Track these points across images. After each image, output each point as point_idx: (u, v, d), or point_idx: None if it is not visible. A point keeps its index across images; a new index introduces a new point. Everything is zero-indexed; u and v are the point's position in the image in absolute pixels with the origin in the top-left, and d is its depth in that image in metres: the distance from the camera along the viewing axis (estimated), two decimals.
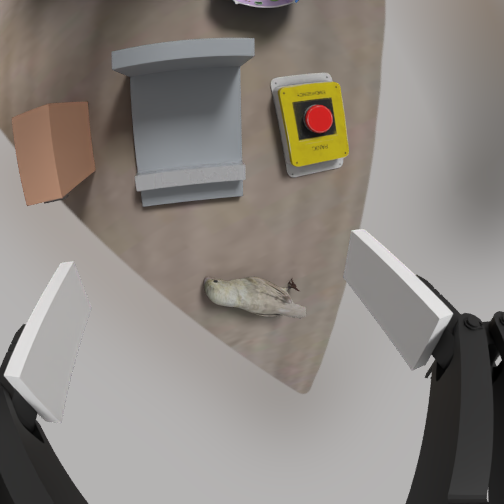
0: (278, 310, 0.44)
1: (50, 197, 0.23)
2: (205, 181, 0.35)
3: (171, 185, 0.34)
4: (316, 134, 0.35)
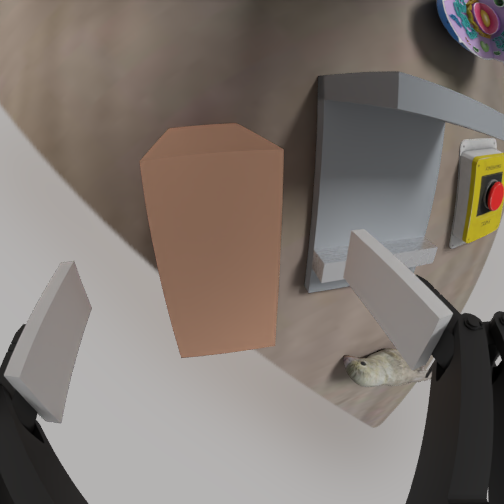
0: (413, 379, 0.35)
1: (247, 346, 0.14)
2: None
3: None
4: (487, 210, 0.26)
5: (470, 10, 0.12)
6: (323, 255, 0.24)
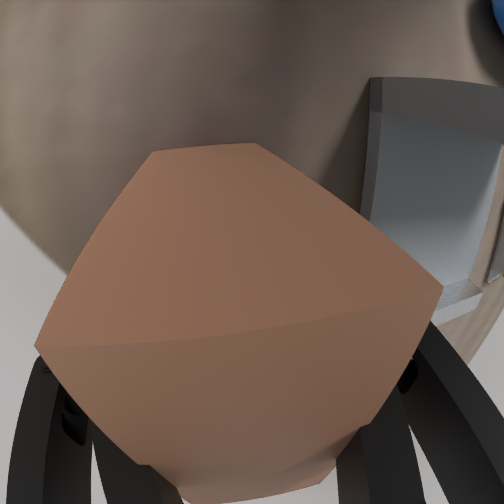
0: None
1: (284, 491, 0.08)
2: (444, 320, 0.19)
3: None
4: None
5: None
6: None
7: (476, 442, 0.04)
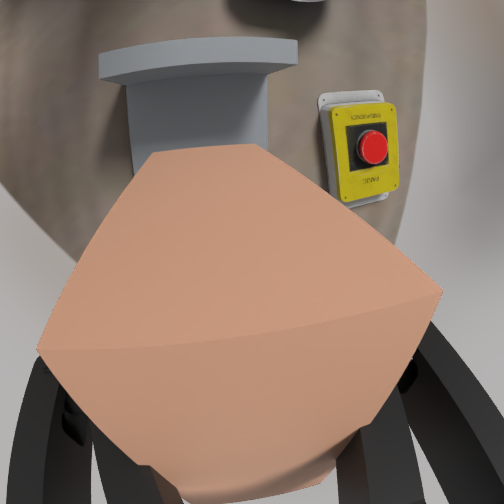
0: None
1: (284, 492, 0.08)
2: None
3: None
4: (368, 164, 0.30)
5: None
6: None
7: (476, 442, 0.04)
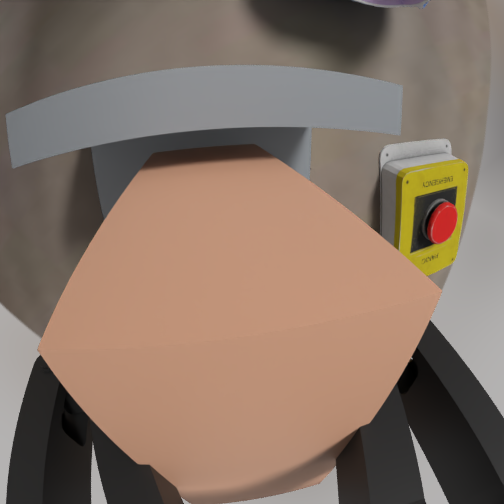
0: None
1: (284, 491, 0.08)
2: None
3: None
4: (431, 241, 0.22)
5: None
6: None
7: (476, 442, 0.04)
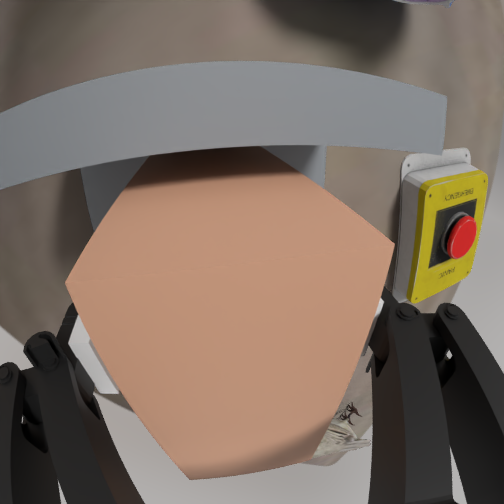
0: (340, 450, 0.29)
1: (276, 466, 0.09)
2: None
3: None
4: (448, 256, 0.20)
5: None
6: None
7: (500, 437, 0.04)
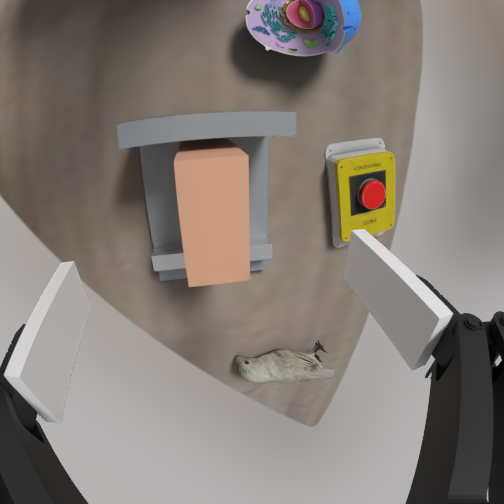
0: (308, 377, 0.44)
1: (232, 279, 0.23)
2: None
3: None
4: (367, 209, 0.35)
5: (284, 12, 0.20)
6: (156, 250, 0.32)
7: None
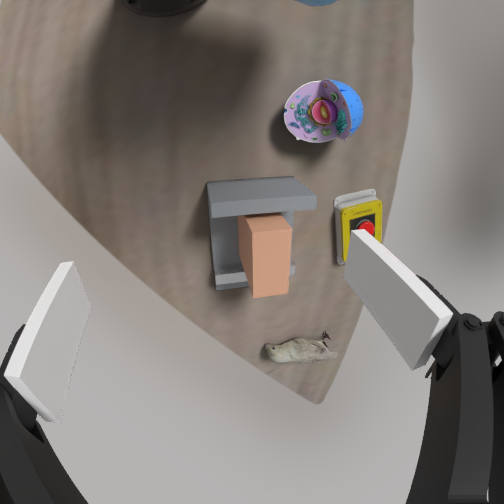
0: (318, 358, 0.61)
1: (278, 292, 0.40)
2: None
3: (242, 280, 0.49)
4: None
5: (310, 111, 0.36)
6: (217, 270, 0.49)
7: None
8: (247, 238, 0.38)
